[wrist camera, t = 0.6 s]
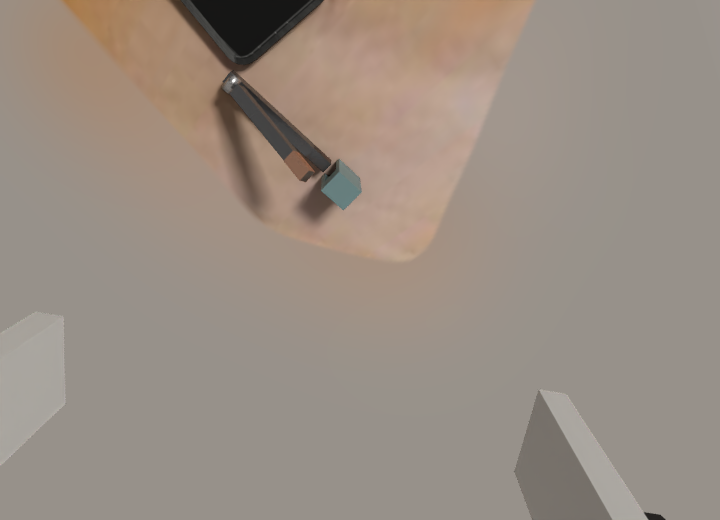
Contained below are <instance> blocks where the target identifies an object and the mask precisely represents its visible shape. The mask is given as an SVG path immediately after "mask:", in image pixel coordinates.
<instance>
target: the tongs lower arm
mask: <svg viewBox="0 0 720 520" xmlns="http://www.w3.org/2000/svg"><path fill="white" fill-rule="evenodd" d="M232 73H235V74H236V75H237V76H238V77H239V78H240V79H241V80H242V81H241V82H240V85H241V86H243V87H245V88H246V90H247V91H248V92H249V93H250V94H251V96H252V97H253V98H254V99H255V100H256V102H257V103H258V104H259V105H260V107H261V108H262V109H263V110H264V111H265V113H266V114H267V115H268V116H269V117H270V119H271V120H272V121H273V122H274V123H275V125H276V126H277V127H278V128H279V130H280V131H281V132H282V133H283V134H284V136H285V137H286V138H287V139H288V140H289V142H290V143H291V144H292V145H293V146H294V147H295V148H297V149H298V150H299V151H300V152H301V153H302V154H303V155H304V156H305V157H307V158H308V159H309V160H310V161H311V162H312V163H313V164H314V165H315V166H317V167H318V168H319V169H320V170H321V171H322V172H324V171H325V170H326V169H327V168H328V167H329V166H330V165H331V160H330V159H329V158H328V157H327V156H326V155H325V154H324V153H323V152H322V151H321V150H320V149H319V148H317V147H316V146H315V145H314V144H313V143H312V142H311V141H310V140H309V139H308V138H307V137H305V136H304V135H303V134H302V133H301V132H300V131H299V130H298V129H297V128H296V127H295V126H294V125H292V124H291V123H290V122H289V121H288V120H287V119H286V118H285V117H284V116H283V115H282V114H281V113H279V112H278V111H277V110H276V109H275V108H274V107H273V106H272V105H271V104H270V103H269V102H267V101H266V100H265V99H264V98H263V97H262V96H261V95H260V94H259V93H258V92H257V91H256V90H254V89H253V88H252V87H251V86H250V85H249V84H248V83H247V82H246V81H245V80H244V79H242V78H241V77H240V76H239V75H238V74H237V73H236V72H235V71H234V70H233V71H231V72H230V73H229V74H228V75H227V77H226V78H225V79H224V80H223V83H225V81H226V80H227V79H228V78H229V76H230V75H231V74H232Z"/></svg>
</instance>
